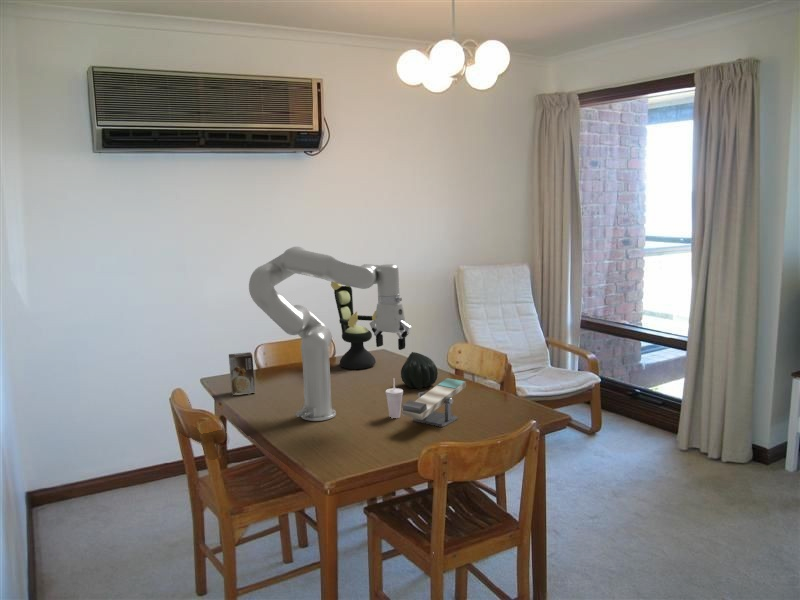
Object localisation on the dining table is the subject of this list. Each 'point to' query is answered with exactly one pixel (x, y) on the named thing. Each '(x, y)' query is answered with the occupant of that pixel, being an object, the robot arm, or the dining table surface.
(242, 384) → the coffee box
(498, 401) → the dining table surface
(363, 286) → the robot arm
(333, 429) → the dining table surface
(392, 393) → the smoothie
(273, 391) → the dining table surface
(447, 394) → the beam
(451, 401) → the pivot stand
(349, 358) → the toy throne chair
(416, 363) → the squash
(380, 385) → the dining table surface
